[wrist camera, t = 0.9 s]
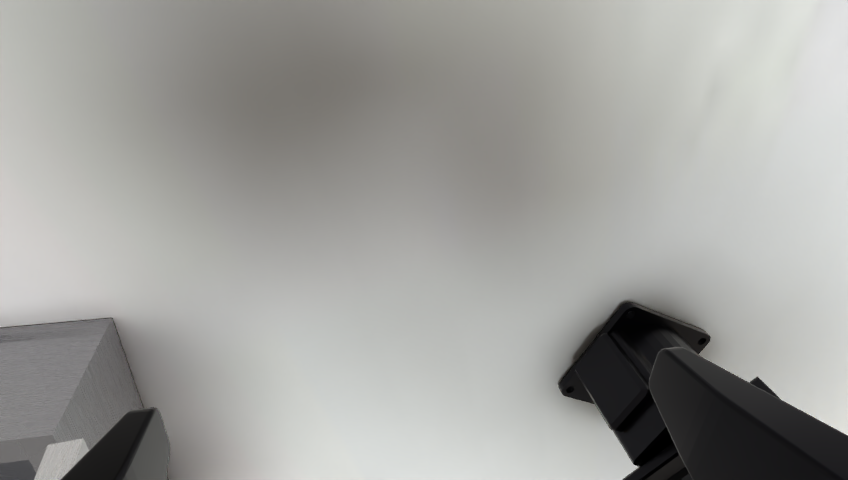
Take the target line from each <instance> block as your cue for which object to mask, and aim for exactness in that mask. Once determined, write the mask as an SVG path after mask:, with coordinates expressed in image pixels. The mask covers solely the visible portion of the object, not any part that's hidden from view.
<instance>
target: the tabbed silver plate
mask: <svg viewBox="0 0 848 480" xmlns="http://www.w3.org/2000/svg"><path fill="white" fill-rule="evenodd" d="M88 451H89V449H88V447H87V445H86V443H85V440H84V438H82V439H77V440H72V441H66V442H61V443H56V444H50V445H48V446H47V448H46V451H45V453H44V456H43V458H42V461H41V463H40V466H39V468H38V471H37V473H36V476H35V478H34V480H60V479H61V478H62V477H63V476H64V475H65V474H66V473H67V472H68V471H69V470H70V469H71V468H72V467H73V466H74V465H75V464H76V463H77V462H78V461H79V460H80V459H81V458H82V457H83V456H84V455H85V454H86V453H87V452H88Z"/></svg>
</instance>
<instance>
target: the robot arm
mask: <svg viewBox="0 0 848 480" xmlns="http://www.w3.org/2000/svg"><path fill="white" fill-rule="evenodd" d="M630 311H631V312H630ZM709 341H710V336H709V335H708V334H707V333H706V332H705V331H704V330H702V329H699V328H697V327H694V326H692V325H689V324H686V323H684V322H681V321H679V320H676V319H674V318H671V317H668V316H666V315H663V314H661V313H658V312H656V311H653V310H650V309H648V308H645V307H643V306H640V305H638V304H635V303H631V302H629V303H625V304H624V305H622V306H621V307H620V308H619V310H618V311H617V312H616V313H615V315H614V316H613V317H612V318H611V320H610V321H609V322H608V323H607V325H606V326H605V327H604V328H603V330H602V331H601V332H600V333H599V335H598V336H597V337H596V338H595V340H594V341H593V342H592V343H591V345H590V346H589V347H588V348H587V350H586V351H585V352H584V353H583V355H582V356H581V357H580V358H579V360H578V361H577V362H576V364H575V365H574V366H573V367H572V369H571V370H570V371H569V372H568V374H567V375H566V376H565V377H564V379H563V380H562V381H561V382H560V384H559V389H560V390H561V392H562V394H563V395H564V396H567V397H571V398H574V399H578V400H582V401H585V402H589V403H593V404H595V405H596V406H597V408H598V410H599V411H600V413H601V415H602V416H603V418H604V420H605V421H606V423H607V424H608V426H609V428H610V429H611V430H613V432H614V433H615V435H616V437H617V438H618V440H619V441H620V443H621V445H622V446H623V448H624V450H625V451H626V453H627V454H628V456H629V458H630V459H631V461H632V463H633V464H634V465H636V466H638V468H637V469H636V470H635V471H633V472H632V473H631V474H629V475H628V476H627V477H625V478H624V479H622V480H848V436H847V435H846V434H844V433H842V432H840V431H838V430H836V429H834V428H833V427H831V426H829V425H827V424H825V423H823V422H821V421H819V420H818V419H816V418H814V417H812V416H810V415H808V414H806V413H805V412H803V411H801V410H799V409H797V408H795V407H793V406H792V405H790V404H788V403H786V402H784V401H782V400H781V399H780V398H779V397H778V396H777V395H776V394H775V393H774V392H773V391H772V390H771V389H770V388H769V387H768V386H767V385H766V384H765V383H764V382H762V381H761V380H760V379H759V378H758V377H756V378H755V379H754V380H752V381H751V382H747V381H745V380H743V379H741V378H739V377H738V376H736V375H734V374H732V373H730V372H728V371H726V370H725V369H723V368H721V367H719V366H717V365H715V364H713V363H711V362H710V361H708V360H706V359H704V358H702V357H700V356H699V355H698V354H699V353H700V352H701V351H702V350H703V349H704V347H705V346H706V345H707V344H708V343H709ZM169 455H170V444H169V439H168V436H167V433H166V430H165V427H164V424H163V420H162V417H161V414H160V412H159V410H158V409H157V408H154V407H151V408H142V409H133V410H130V411H129V412H127V413H126V414H125V415H124V416H123V417H122V418H121V419H120V420H119V421H118V422H117V423H116V424H115V425H114V426H113V427H112V428H111V429H110V430H109V431H108V432H107V433H106V434H105V435H104V436H103V437H102V438H101V439H100V440H99V441H98V442H97V443H96V444H95V445H94V446H93V447H92V448H91V449H90V450H89V451H88V452H87V453H86V454H85V455H84V456H83V457H82V458H81V459H80V460H79V461H78V462H77V463H76V464H75V465H74V466H73V467H72V468H71V469H70V470H69V471H68V472H67V473H66V474H65V475H64V476H63V477H62V478H61V479H60V480H166V476H167V469H168V462H169Z"/></svg>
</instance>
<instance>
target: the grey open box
mask: <svg viewBox="0 0 848 480" xmlns="http://www.w3.org/2000/svg"><path fill="white" fill-rule="evenodd" d="M142 408H143V405H142V403H141V400H140V397H139V394H138V391H137V388H136V385H135V382H134V380H133V377H132V374H131V371H130V368H129V365H128V362H127V359H126V357H125V354H124V351H123V348H122V345H121V342H120V339H119V336H118V334H117V331H116V328H115V325H114V322H113V319H112V318H107V319H96V320H85V321H74V322H63V323H52V324H41V325H30V326H19V327H8V328H0V480H34V478H35V476H36V473H37V471H38V468H39V466H40V463H41V461H42V458H43V456H44V453H45V451H46V448H47V446H48V445H50V444H56V443H61V442H66V441H72V440H77V439H82V438H84V440H85V443H86V445H87V447H88V449H89V450H90V449H91V448H92V447H93V446H94V445H95V444H96V443H97V442H98V441H99V440H100V439H101V438H102V437H103V436H104V435H105V434H106V433H107V432H108V431H109V430H110V429H111V428H112V427H113V426H114V425H115V424H116V423H117V422H118V421H119V420H120V419H121V418H122V417H123V416H124V415H125V414H126V413H127V412H129V411H130V410H133V409H142ZM166 480H168V477H167V476H166Z"/></svg>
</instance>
